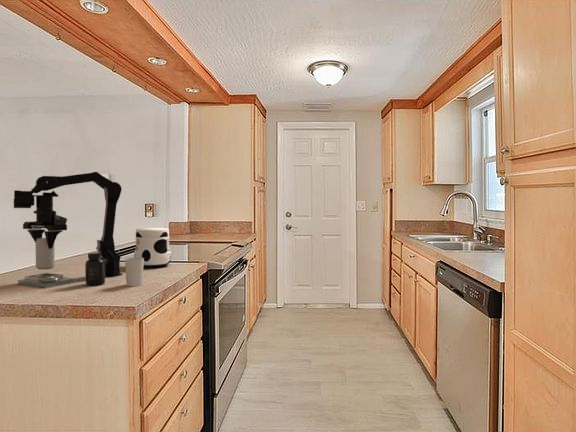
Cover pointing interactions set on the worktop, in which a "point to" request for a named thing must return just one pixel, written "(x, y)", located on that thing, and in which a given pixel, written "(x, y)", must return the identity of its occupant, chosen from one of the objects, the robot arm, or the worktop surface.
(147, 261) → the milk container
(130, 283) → the drinking glass
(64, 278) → the grey flat piece
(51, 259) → the beverage can
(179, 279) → the worktop surface
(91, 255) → the supplement bottle
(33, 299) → the worktop surface
